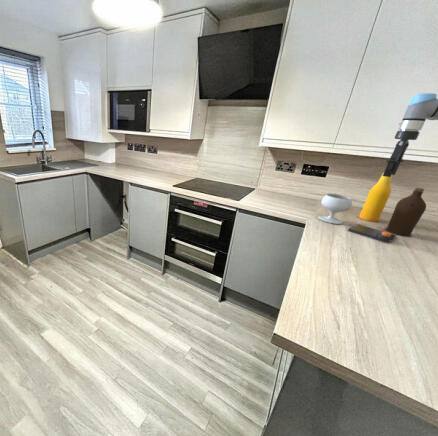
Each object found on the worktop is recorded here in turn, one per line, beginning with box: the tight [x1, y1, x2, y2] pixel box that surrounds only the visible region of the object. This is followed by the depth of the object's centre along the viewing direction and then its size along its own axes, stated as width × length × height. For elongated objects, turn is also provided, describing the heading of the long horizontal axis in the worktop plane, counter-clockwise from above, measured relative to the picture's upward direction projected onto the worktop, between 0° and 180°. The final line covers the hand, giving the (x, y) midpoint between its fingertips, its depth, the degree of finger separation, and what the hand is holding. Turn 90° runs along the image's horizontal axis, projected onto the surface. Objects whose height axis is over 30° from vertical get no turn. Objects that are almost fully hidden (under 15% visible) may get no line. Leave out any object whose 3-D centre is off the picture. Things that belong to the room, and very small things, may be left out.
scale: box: [347, 223, 397, 244], centre depth 124 cm, size 17×14×3 cm
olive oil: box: [385, 187, 427, 237], centre depth 125 cm, size 11×11×25 cm
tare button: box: [382, 231, 392, 237], centre depth 117 cm, size 3×3×2 cm
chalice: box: [317, 193, 353, 225], centre depth 139 cm, size 14×14×15 cm
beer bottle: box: [358, 172, 394, 223], centre depth 142 cm, size 9×9×29 cm
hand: (388, 175), depth 118 cm, fingers open, 13 cm apart
